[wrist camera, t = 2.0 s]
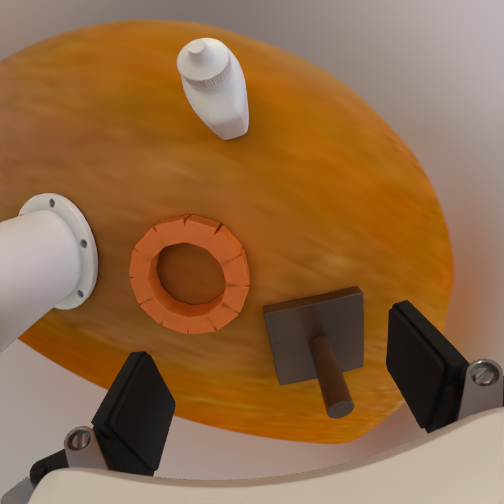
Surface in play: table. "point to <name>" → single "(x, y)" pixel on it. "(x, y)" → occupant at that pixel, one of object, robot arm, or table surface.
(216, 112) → the eye dropper bottle
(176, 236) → the ring
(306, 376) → the post
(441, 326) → the table surface
